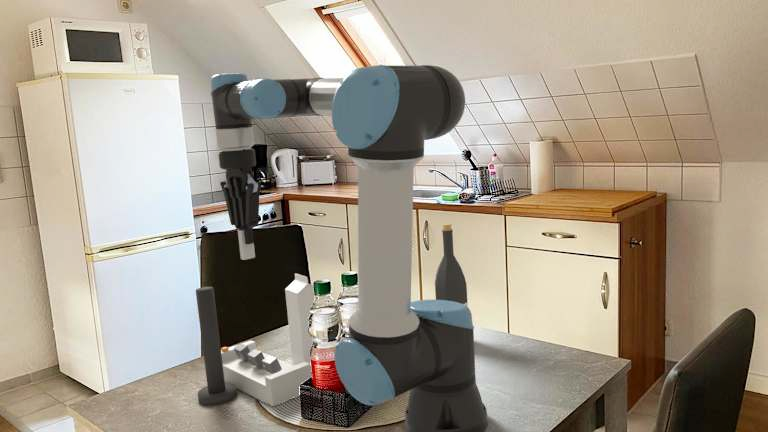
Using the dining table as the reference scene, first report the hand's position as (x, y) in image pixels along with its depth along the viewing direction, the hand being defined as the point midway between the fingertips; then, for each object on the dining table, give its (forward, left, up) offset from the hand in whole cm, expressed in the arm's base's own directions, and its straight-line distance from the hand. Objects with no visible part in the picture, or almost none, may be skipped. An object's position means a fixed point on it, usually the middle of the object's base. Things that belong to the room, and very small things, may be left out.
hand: (248, 258), depth 138 cm
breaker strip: (0, 0, -29) cm, 29 cm away
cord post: (+2, +10, -29) cm, 30 cm away
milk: (0, -13, -29) cm, 32 cm away
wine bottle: (-18, -44, -29) cm, 56 cm away
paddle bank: (0, 0, -24) cm, 24 cm away
